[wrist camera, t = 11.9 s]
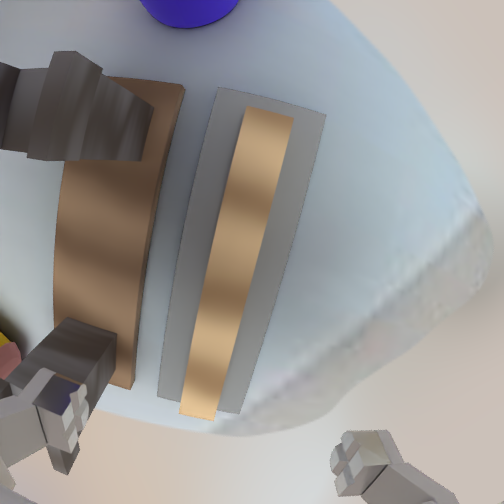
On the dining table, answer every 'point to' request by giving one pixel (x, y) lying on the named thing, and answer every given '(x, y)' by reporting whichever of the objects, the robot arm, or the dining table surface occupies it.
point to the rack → (91, 211)
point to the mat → (203, 230)
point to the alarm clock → (8, 356)
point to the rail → (234, 256)
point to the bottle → (188, 11)
